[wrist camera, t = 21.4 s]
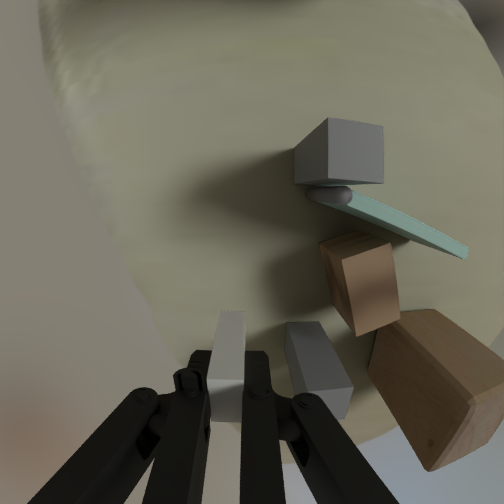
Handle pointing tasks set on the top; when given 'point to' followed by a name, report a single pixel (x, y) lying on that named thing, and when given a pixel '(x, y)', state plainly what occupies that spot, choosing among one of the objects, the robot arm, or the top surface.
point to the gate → (385, 218)
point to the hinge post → (340, 154)
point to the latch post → (317, 366)
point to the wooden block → (438, 385)
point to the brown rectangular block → (362, 280)
